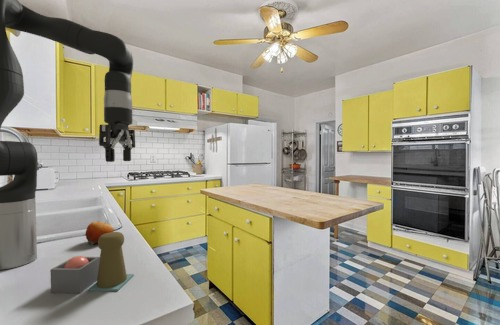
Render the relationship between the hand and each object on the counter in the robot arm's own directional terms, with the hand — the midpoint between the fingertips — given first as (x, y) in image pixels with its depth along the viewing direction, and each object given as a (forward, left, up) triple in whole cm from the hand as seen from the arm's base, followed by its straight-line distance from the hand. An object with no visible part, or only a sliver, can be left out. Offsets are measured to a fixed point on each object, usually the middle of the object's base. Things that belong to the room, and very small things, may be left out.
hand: (119, 161), depth 72 cm
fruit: (-12, +7, -28) cm, 31 cm away
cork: (+9, -18, -27) cm, 34 cm away
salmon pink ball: (+1, -19, -26) cm, 33 cm away
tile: (+9, -18, -28) cm, 34 cm away
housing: (+1, -19, -28) cm, 34 cm away
